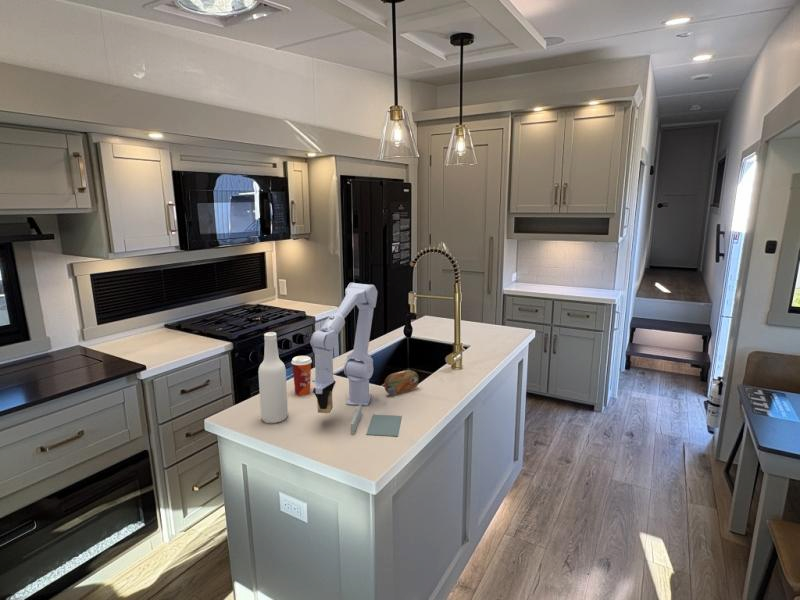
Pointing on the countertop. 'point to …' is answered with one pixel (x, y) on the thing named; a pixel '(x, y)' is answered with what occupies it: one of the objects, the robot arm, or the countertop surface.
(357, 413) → the low wall
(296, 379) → the paper cup
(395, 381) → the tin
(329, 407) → the oak block
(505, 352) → the countertop surface
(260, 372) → the alcohol
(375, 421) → the mat
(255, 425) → the countertop surface
